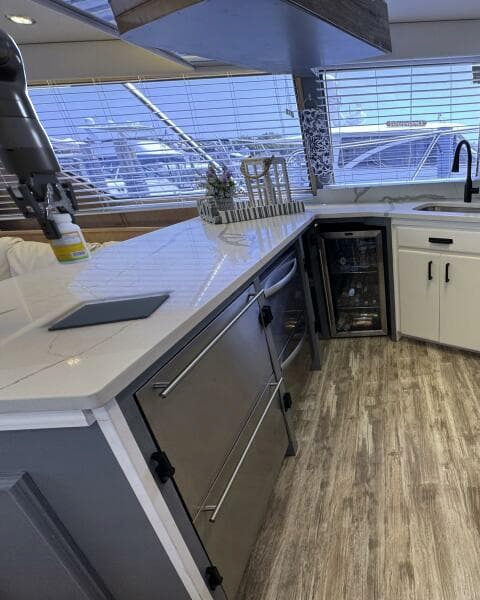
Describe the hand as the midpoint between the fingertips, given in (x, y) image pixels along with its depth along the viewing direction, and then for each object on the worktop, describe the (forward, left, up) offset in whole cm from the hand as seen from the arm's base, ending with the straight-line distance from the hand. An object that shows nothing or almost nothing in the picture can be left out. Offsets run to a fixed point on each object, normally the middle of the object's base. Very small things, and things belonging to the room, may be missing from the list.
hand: (64, 236), depth 67 cm
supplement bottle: (0, 0, -6) cm, 6 cm away
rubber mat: (+3, 0, -18) cm, 18 cm away
